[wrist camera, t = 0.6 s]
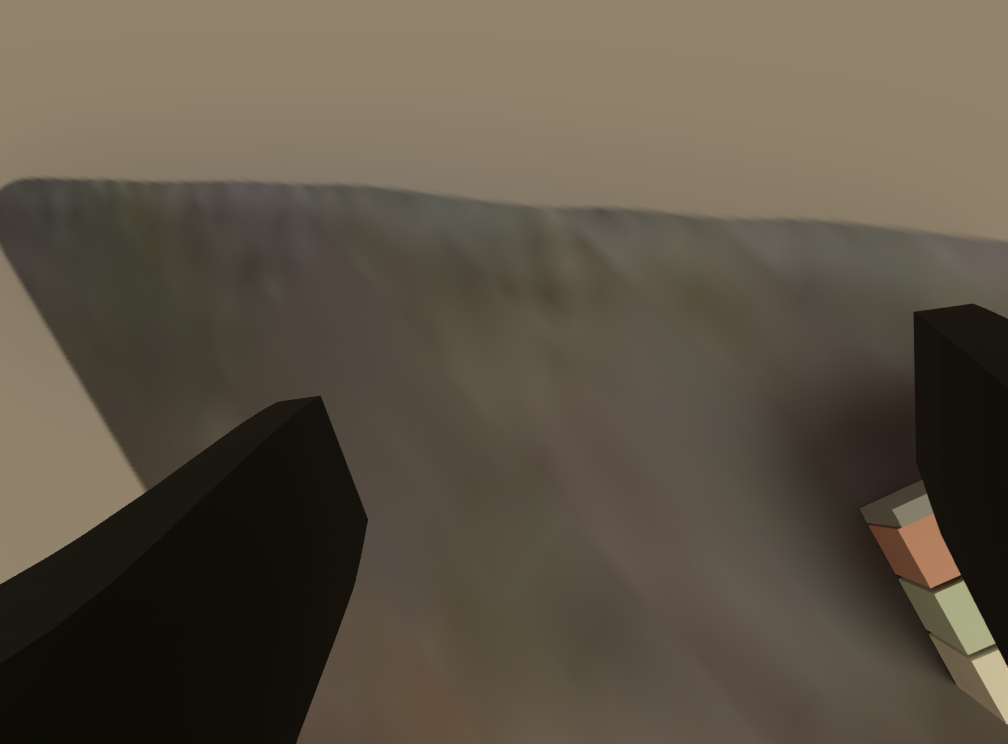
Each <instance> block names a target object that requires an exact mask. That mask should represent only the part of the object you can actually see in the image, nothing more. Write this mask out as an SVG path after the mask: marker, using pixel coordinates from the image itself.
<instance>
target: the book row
mask: <svg viewBox="0 0 1008 744" xmlns="http://www.w3.org/2000/svg"><path fill="white" fill-rule="evenodd" d="M859 509H860V511H861V513H862V515H863V516H864V518H865V520H866V522H867V523H872V524H870V525H868V526H869V527H870V529H871V531H872V533H873V535H874V536H875V538H876V540H877V542H878V544H879V545H880V547H881V549H882V551H883V553H884V554H885V556H886V558H887V560H888V562H889V564H890V565H891V567H892V569H893V571H894V573H895V574H897V575H899V576H902V577H901V578H899V579H898V580H899V582H900V583H901V585H902V587H903V589H904V591H905V592H906V594H907V596H908V598H909V600H910V601H911V603H912V605H913V607H914V609H915V611H916V612H917V614H918V616H919V618H920V620H921V621H922V623H923V625H924V627H925V629H926V630H928V631H930V632H931V633H930V634H929V636H930V638H931V639H932V641H933V643H934V645H935V647H936V649H937V650H938V652H939V654H940V656H941V658H942V659H943V661H944V663H945V665H946V667H947V668H948V670H949V672H950V674H951V676H952V677H953V679H954V681H955V683H956V685H957V686H958V687H959V688H961V689H962V690H963V691H964V692H966V693H967V694H968V695H970V696H971V697H972V698H973V699H975V700H976V701H977V702H979V703H980V704H981V705H983V706H984V707H985V708H986V709H988V710H989V711H990V712H992V713H993V714H994V715H995V716H997V717H998V718H999V719H1001V720H1002V721H1003V722H1004V723H1006V724H1008V667H1007V665H1006V663H1005V661H1004V659H1003V657H1002V655H1001V653H1000V651H999V649H998V647H997V645H996V643H995V641H994V640H993V638H992V636H991V634H990V632H989V630H988V628H987V626H986V624H985V622H984V620H983V618H982V616H981V614H980V612H979V610H978V608H977V606H976V604H975V602H974V600H973V598H972V596H971V594H970V592H969V590H968V588H967V586H966V584H965V582H964V580H963V578H962V576H961V574H960V572H959V570H958V568H957V566H956V564H955V562H954V560H953V558H952V556H951V554H950V552H949V550H948V548H947V546H946V544H945V542H944V540H943V538H942V536H941V533H940V530H939V528H938V525H937V522H936V519H935V516H934V513H933V510H932V507H931V505H930V502H929V499H928V496H927V493H926V489H925V486H924V483H923V480H920V481H918V482H916V483H914V484H911V485H909V486H907V487H905V488H903V489H900V490H898V491H896V492H894V493H892V494H890V495H887V496H885V497H883V498H881V499H879V500H877V501H874V502H872V503H870V504H868V505H866V506H864V507H861V508H859Z"/></svg>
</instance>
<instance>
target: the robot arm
mask: <svg viewBox="0 0 1008 744" xmlns="http://www.w3.org/2000/svg"><path fill="white" fill-rule="evenodd" d="M914 361H915V415H916V462H917V465H918V468H919V471H920V474H921V477H922V480H923V483H924V486H925V489H926V493H927V496H928V499H929V502H930V505H931V507H932V510H933V513H934V516H935V519H936V522H937V525H938V528H939V530H940V533H941V536H942V538H943V540H944V542H945V544H946V546H947V548H948V550H949V552H950V554H951V556H952V558H953V560H954V562H955V564H956V566H957V568H958V570H959V572H960V574H961V576H962V578H963V580H964V582H965V584H966V586H967V588H968V590H969V592H970V594H971V596H972V598H973V600H974V602H975V604H976V606H977V608H978V610H979V612H980V614H981V616H982V618H983V620H984V622H985V624H986V626H987V628H988V630H989V632H990V634H991V636H992V638H993V640H994V641H995V643H996V645H997V647H998V649H999V651H1000V653H1001V655H1002V657H1003V659H1004V661H1005V663H1006V665H1007V667H1008V319H1007V318H1005V317H1003V316H1000V315H998V314H996V313H994V312H992V311H990V310H987V309H985V308H983V307H980V306H978V305H975V304H967V305H960V306H953V307H946V308H938V309H931V310H924V311H917V312H914ZM367 522H368V518H367V516H366V513H365V510H364V508H363V505H362V503H361V500H360V497H359V495H358V492H357V490H356V487H355V484H354V482H353V479H352V476H351V474H350V471H349V469H348V466H347V463H346V461H345V458H344V456H343V453H342V450H341V448H340V445H339V442H338V440H337V437H336V435H335V432H334V429H333V427H332V424H331V422H330V419H329V416H328V414H327V411H326V408H325V406H324V403H323V401H322V398H321V396H315V397H308V398H301V399H294V400H287V401H280V402H277V403H275V404H273V405H271V406H269V407H267V408H265V409H264V410H262V411H260V412H259V413H257V414H256V415H254V416H253V417H251V418H249V419H248V420H246V421H245V422H243V423H242V424H240V425H239V426H238V427H236V428H235V429H233V430H232V431H230V432H229V433H228V434H226V435H225V436H223V437H222V438H221V439H219V440H218V441H216V442H215V443H214V444H212V445H211V446H209V447H208V448H207V449H205V450H204V451H203V452H201V453H200V454H198V455H197V456H196V457H194V458H193V459H192V460H190V461H189V462H187V463H186V464H185V465H183V466H182V467H181V468H179V469H178V470H176V471H175V472H174V473H172V474H171V475H170V476H168V477H167V478H165V479H164V480H163V481H161V482H160V483H159V484H157V485H156V486H154V487H153V488H152V489H150V490H149V491H147V492H146V493H144V494H143V495H142V496H140V497H138V498H137V499H135V500H134V501H133V502H131V503H130V504H128V505H127V506H125V507H124V508H122V509H121V510H119V511H118V512H116V513H115V514H113V515H112V516H110V517H109V518H108V519H106V520H105V521H103V522H102V523H100V524H99V525H97V526H96V527H94V528H93V529H92V530H90V531H88V532H87V533H86V534H84V535H82V536H81V537H79V538H78V539H76V540H75V541H73V542H71V543H70V544H68V545H67V546H65V547H63V548H62V549H60V550H59V551H57V552H55V553H54V554H52V555H50V556H49V557H47V558H45V559H44V560H42V561H40V562H39V563H37V564H35V565H33V566H32V567H30V568H28V569H26V570H25V571H23V572H21V573H19V574H18V575H16V576H14V577H12V578H11V579H9V580H7V581H6V582H4V583H2V584H0V744H296V742H297V739H298V736H299V734H300V731H301V728H302V726H303V723H304V720H305V718H306V715H307V712H308V710H309V707H310V704H311V702H312V699H313V696H314V694H315V691H316V688H317V686H318V683H319V681H320V678H321V675H322V673H323V670H324V667H325V665H326V662H327V659H328V657H329V654H330V651H331V649H332V646H333V644H334V641H335V638H336V635H337V633H338V630H339V627H340V624H341V622H342V619H343V616H344V614H345V611H346V608H347V605H348V603H349V600H350V597H351V594H352V591H353V588H354V585H355V580H356V576H357V572H358V567H359V563H360V559H361V554H362V549H363V543H364V538H365V533H366V527H367Z"/></svg>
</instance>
